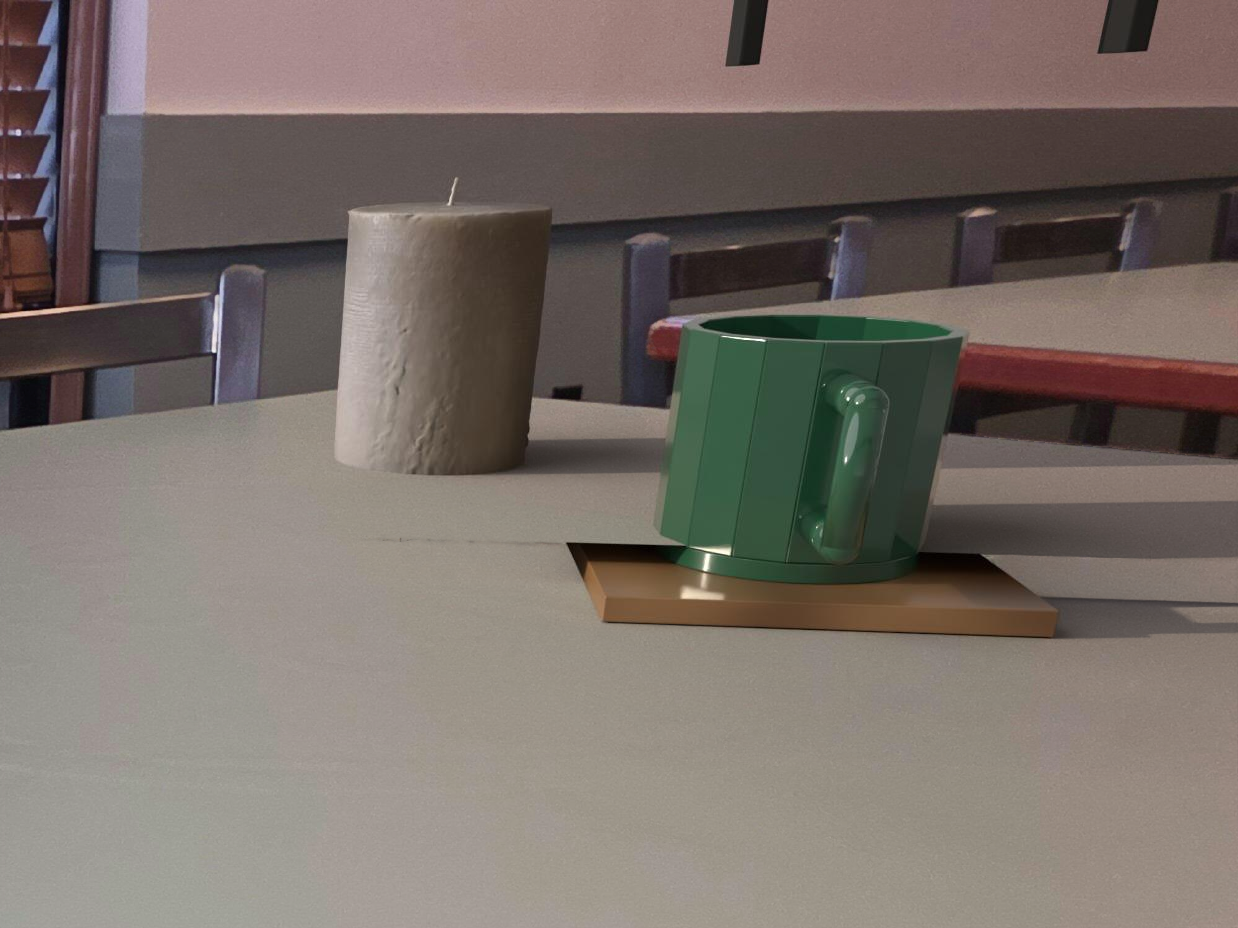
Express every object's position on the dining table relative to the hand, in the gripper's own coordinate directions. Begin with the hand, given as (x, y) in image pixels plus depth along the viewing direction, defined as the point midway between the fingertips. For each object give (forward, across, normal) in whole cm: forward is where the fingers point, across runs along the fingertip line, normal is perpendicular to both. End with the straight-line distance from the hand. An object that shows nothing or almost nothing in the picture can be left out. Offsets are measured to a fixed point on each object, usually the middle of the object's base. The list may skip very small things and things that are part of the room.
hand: (928, 60), depth 67 cm
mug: (+18, -3, -5) cm, 19 cm away
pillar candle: (+19, -17, +13) cm, 29 cm away
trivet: (+19, -3, -4) cm, 20 cm away
